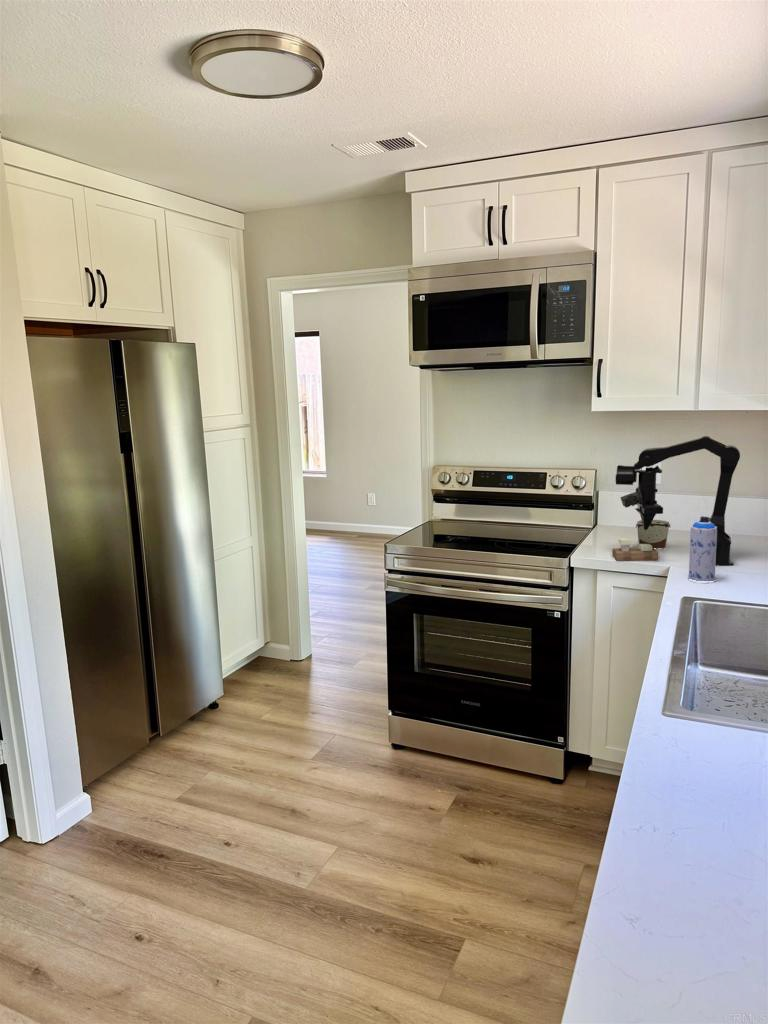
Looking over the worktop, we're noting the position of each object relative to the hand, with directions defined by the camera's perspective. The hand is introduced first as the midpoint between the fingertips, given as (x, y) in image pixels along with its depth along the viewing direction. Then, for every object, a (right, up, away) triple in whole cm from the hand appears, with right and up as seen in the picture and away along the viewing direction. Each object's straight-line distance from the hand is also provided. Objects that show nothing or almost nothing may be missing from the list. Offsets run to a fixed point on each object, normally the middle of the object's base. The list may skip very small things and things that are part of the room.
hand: (645, 529), depth 245 cm
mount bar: (-3, -10, +2) cm, 11 cm away
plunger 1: (-7, -8, +2) cm, 10 cm away
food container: (+8, -7, +18) cm, 21 cm away
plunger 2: (+1, -10, +2) cm, 10 cm away
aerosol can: (+8, -15, -26) cm, 32 cm away
